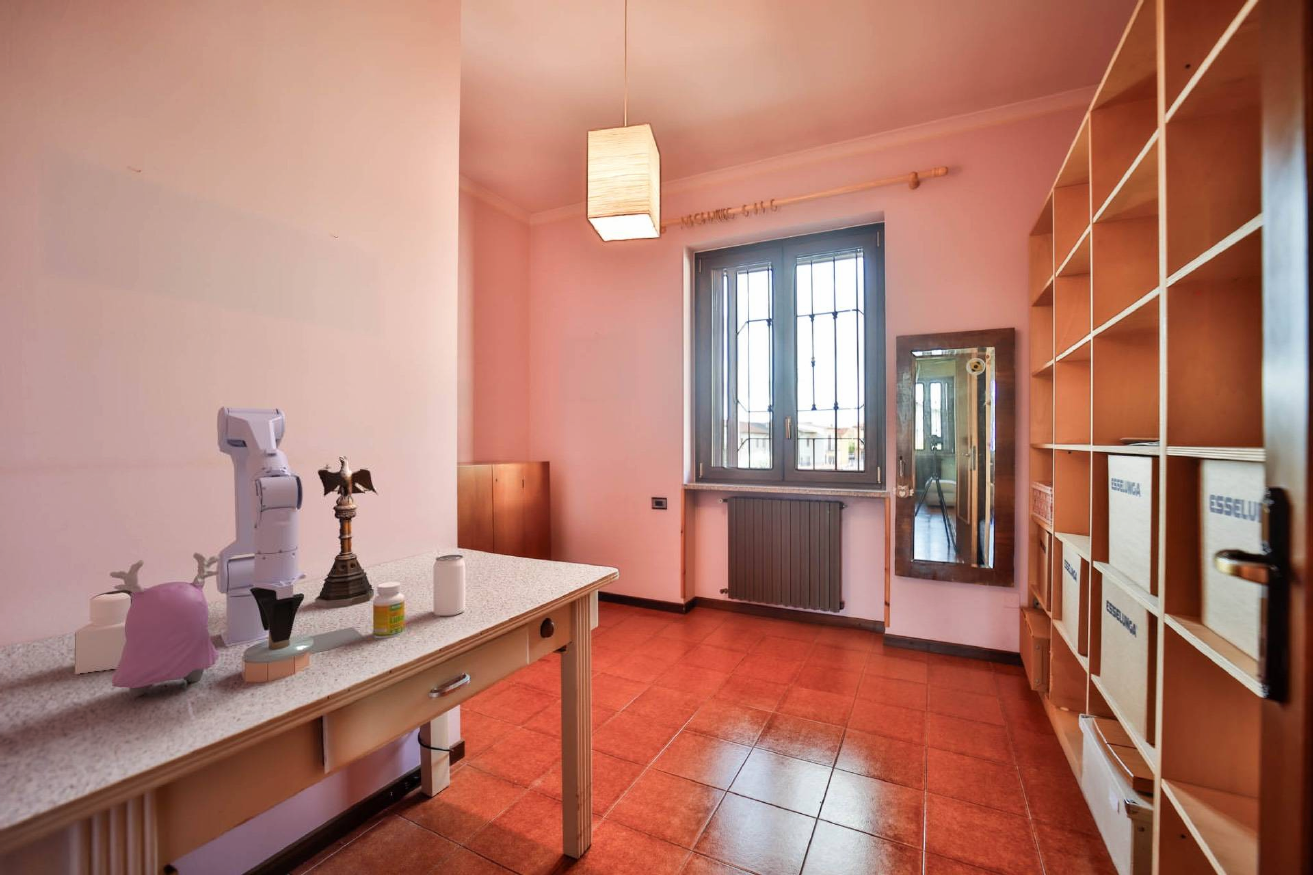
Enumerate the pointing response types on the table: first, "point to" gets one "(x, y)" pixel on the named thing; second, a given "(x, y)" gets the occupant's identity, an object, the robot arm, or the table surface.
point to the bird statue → (345, 539)
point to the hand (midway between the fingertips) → (276, 634)
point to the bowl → (274, 668)
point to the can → (449, 585)
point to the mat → (335, 639)
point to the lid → (277, 649)
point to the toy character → (165, 631)
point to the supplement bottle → (388, 611)
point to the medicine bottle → (103, 633)
